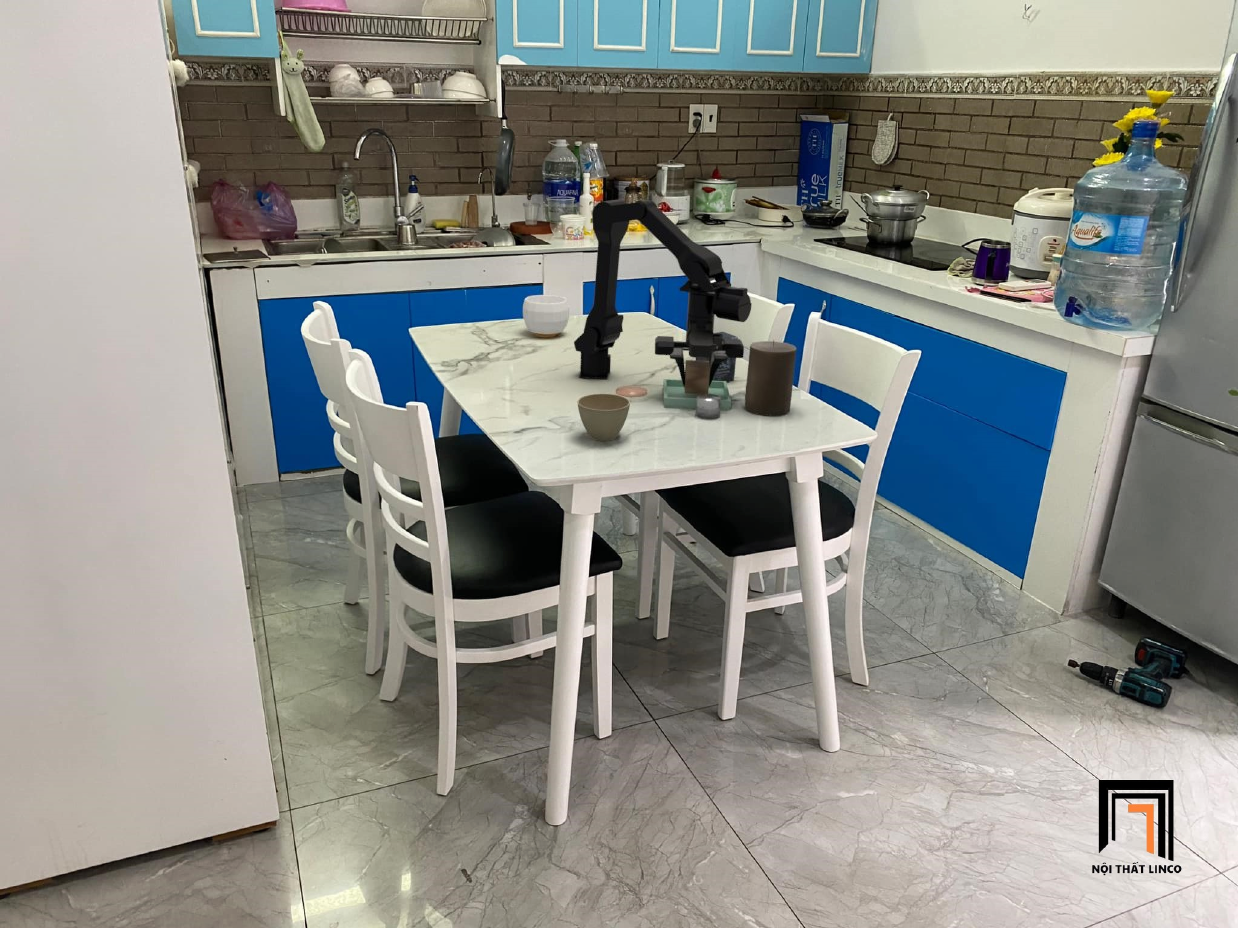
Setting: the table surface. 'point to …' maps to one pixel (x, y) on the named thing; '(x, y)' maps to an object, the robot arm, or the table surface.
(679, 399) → the tray
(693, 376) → the walnut block
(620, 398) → the flower pot
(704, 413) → the grey tin
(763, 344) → the pillar candle
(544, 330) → the cup
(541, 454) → the table surface
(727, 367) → the box
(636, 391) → the pink dome
